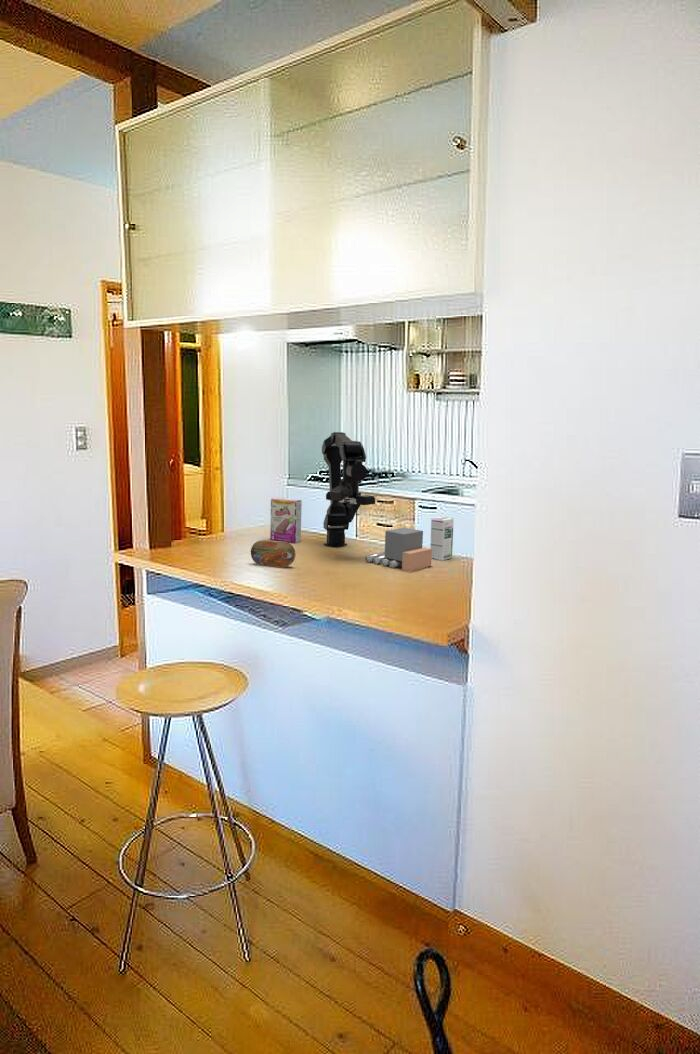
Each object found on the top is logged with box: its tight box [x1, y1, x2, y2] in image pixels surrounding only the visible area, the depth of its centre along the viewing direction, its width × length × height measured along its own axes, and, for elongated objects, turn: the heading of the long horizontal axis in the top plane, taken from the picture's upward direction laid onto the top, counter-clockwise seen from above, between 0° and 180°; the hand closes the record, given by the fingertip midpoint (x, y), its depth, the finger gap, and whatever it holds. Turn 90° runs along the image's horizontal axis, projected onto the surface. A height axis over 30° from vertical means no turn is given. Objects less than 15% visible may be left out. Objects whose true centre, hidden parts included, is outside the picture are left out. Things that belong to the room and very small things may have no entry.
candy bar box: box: [269, 497, 303, 544], centre depth 270 cm, size 11×5×16 cm, turn 68°
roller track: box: [364, 551, 402, 569], centre depth 240 cm, size 13×12×2 cm
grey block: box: [384, 527, 424, 561], centre depth 235 cm, size 8×10×9 cm
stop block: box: [401, 547, 433, 573], centre depth 232 cm, size 3×12×6 cm, turn 138°
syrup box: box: [429, 516, 454, 561], centre depth 248 cm, size 6×6×14 cm
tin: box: [250, 539, 296, 568], centre depth 230 cm, size 15×3×8 cm, turn 73°
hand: (349, 522), depth 247 cm, fingers closed
